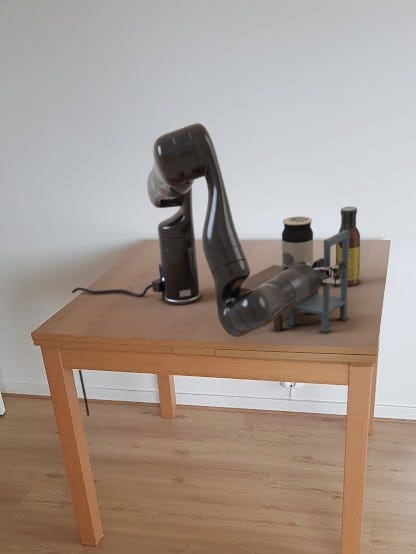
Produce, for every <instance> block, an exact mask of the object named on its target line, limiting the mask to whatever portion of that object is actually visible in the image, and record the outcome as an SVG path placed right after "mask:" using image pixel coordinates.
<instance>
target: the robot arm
mask: <svg viewBox="0 0 416 554" xmlns="http://www.w3.org/2000/svg"><path fill="white" fill-rule="evenodd" d="M152 149H153V150H152V152H153V153H152V154H153V156H152V157H153V165H152V169H151V170H150V172H149V173H148V177H147V181H146V183H147V184H146V189H147V196H148V198H149V201H150V203H151V204H152V206H153V207H154V208H157V209H168V208H177V207H179V208H178V210H177V211H176V212H175V213H174V214H173V215H171V216H170V217H168V218H166V219H164V220H162V221H161V222H159V223H158V225H157V235H158V244H159V253H160V260H161V261H160V263H159V264H158V271H159V278H157V279H154V280H152V281H151V284H148V286H146V287H145V288H144V290H143V292H141V293H134V292H132V291H130V290H127V289H118V288H117V289H106V290H105V289H103V290H93V289H92V290H91V289H87V288H84V287H76V288H73V289H72V291H71V294H75V293H76V292H77V291H82V292H85V293H89V294H110V293H125V294H127V295H130V296H133V297H136V298H137V297H138V298H141V297H143V296H145V295H146V294H147V291H148V290H150V289H151V288H152V292H153V293H159V294H160V293H161V296H162V297H161V298H162V299H161V300H164V301H165V302H166V303H168V304H172V305H186V304H187V305H188V304H191V303H195V302H197V301H198V300H200V298H201V294H200V286H199V282H200V281H199V272H198V271H199V270H198V258H197V246H196V233H195V224H194V210H193V209H194V207H193V206H194V205H193V185H194V183H195V180H198V179H200V178H205V181H206V187H207V194H208V195H207V206H206V212H205V219H204V223H203V228H202V236H201V239H202V240H201V244H202V245H201V246H202V250H203V254H204V257H205V260H206V263H207V265H208V268H209V270H210V273H211V275H212V279H213V283H214V291H215V293H214V294H215V300H216V309H217V315H218V316H217V317H218V320H219V322H220V325H221V327H222V328H223V329H224V331H225V332H226V333H228V334H229V335H230V336H232V337H235V338H241V337H243V336H246V335H249V334H250V333H252V332H254V331H257V330H259V329H261V328H263V327H266V326H267V325H269V324H271V323H272V322H274V320H275V319H276V318H277V317H278V316H279V315H281V314H283V315H284V313H286V312H289V309H292V308H295V307H297V306H298V305H300V304H302V303H303V302H305V301H307V300H308V299H310V298H311V297H313V296H314V295H315V294H316V293H317V291H318V292H319V290H320V288H321V287H322V288H323V286H325V285H327V283H330V284H332V285H333V288H341V284H342V283H343V281H344V280H345V271H346V264H345V261H341V262H339V263H337V264H336V263H335V264H334V265H330V266H324V257H322V258H321V257H320V258H319V259H317V260H315V261H313V262H309V263H306V264H305V262H304V261H302V262H299V263H296V264H292V265H289V266H286V267H284V271H283V272H281V273H279V274H278V275H276V276H275V277H274V278H273V279H271V280H269V281H267V282H265V283H263V284H262V285H260V286H259V287H257V288H255V289H253V290H251V291H249V292H247V293H245V294H243V295H241V285H242V283H243V282H244V281H245V280H246V279H247V278H249V277H250V275H251V269H250V265H249V262H248V260H247V257H246V255H245V251H244V249H243V246H242V243H241V241H240V238H239V236H238V232H237V228H236V226H235V223H234V219H233V214H232V210H231V205H230V202H229V201H230V200H229V198H228V197H229V196H228V193H227V189H226V186H225V182H224V177H223V174H222V169H221V166H220V163H219V157H218V155H217V152H216V151H217V150H216V148H215V145H214V142H213V139H212V137H211V135H210V133H209V131H208V129H207V128H206V127H205V125H203V124H202V123H201V122H196V123H191V124H188V125H186V126H184V127H180V128H178V129H174V130H172V131H170V132H167V133H165V134H161V135H160V136H159V137H157V138H156V139H155V140H154V143H153V148H152ZM78 373H79V380H80V384H81V389H82V395H83V399H84V405H85V411H86V416H87V417H89V416H90V410H89V405H88V399H87V393H86V388H85V383H84V378H83V372H82V369H81V370H78Z"/></svg>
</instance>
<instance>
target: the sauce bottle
mask: <svg viewBox="0 0 416 554" xmlns="http://www.w3.org/2000/svg"><path fill="white" fill-rule="evenodd" d="M357 213H358V208H357V207H356V206H343V207H342V208H340V217H341V219H340V220H341V223H340V227H339V231H338V233H340V232H342V231H343V230H349V252H348V282H347V287H351V286H354V285H358V284H359V282H360V281H359V280H360V275H361V272H360V271H361V233H360V230H359V229H358V227H357ZM342 241H343V240H342ZM342 241H340V242H338V243H336V244H335V265H336V264H337V263H339V262H341V261H342Z"/></svg>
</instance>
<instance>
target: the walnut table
mask: <svg viewBox="0 0 416 554" xmlns="http://www.w3.org/2000/svg"><path fill="white" fill-rule="evenodd" d="M283 271H284V266H282V265H278V264H277V265H276V264H272V265H271V266H269V267H267V268H265V269H263V270H261V271H259V272H257V273H255V274H253V275H251V276H248V278H247V279H246V280H245V281H244V282H243V283H242V285H241V295H243V294H245V293H247V292H249V291H251V290H253V289H255V288H257V287H259V286H260V285H262V284H263V283H265V282H267V281H269V280H271V279H273V278H274V277H275V276H276V275H278V274H279V273H281V272H283ZM316 294H319V290H318V291H317V293H316ZM283 315H284V313H283V314H281V315H279V316H278V317H277V318H276V319H275V320H274V321H273V330H274V331H275V332H281V331H282V330H284V317H283Z"/></svg>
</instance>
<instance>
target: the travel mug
mask: <svg viewBox="0 0 416 554" xmlns="http://www.w3.org/2000/svg"><path fill="white" fill-rule="evenodd" d="M312 222H313V219H312V217H309V216H303V215H302V216H297V215H296V216H290V217H286V218H284V219H283V220H282V224H283V228H284V229H283V230H282V232H281V255H282V256H281V258H282V259H281V260H282V263H281V266H284V267H286V266H289V265H292V264H296V263H299V262H302V261H304V262H305V264H306V263H309V262H314V231H313V229H312V227H311V226H312Z"/></svg>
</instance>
